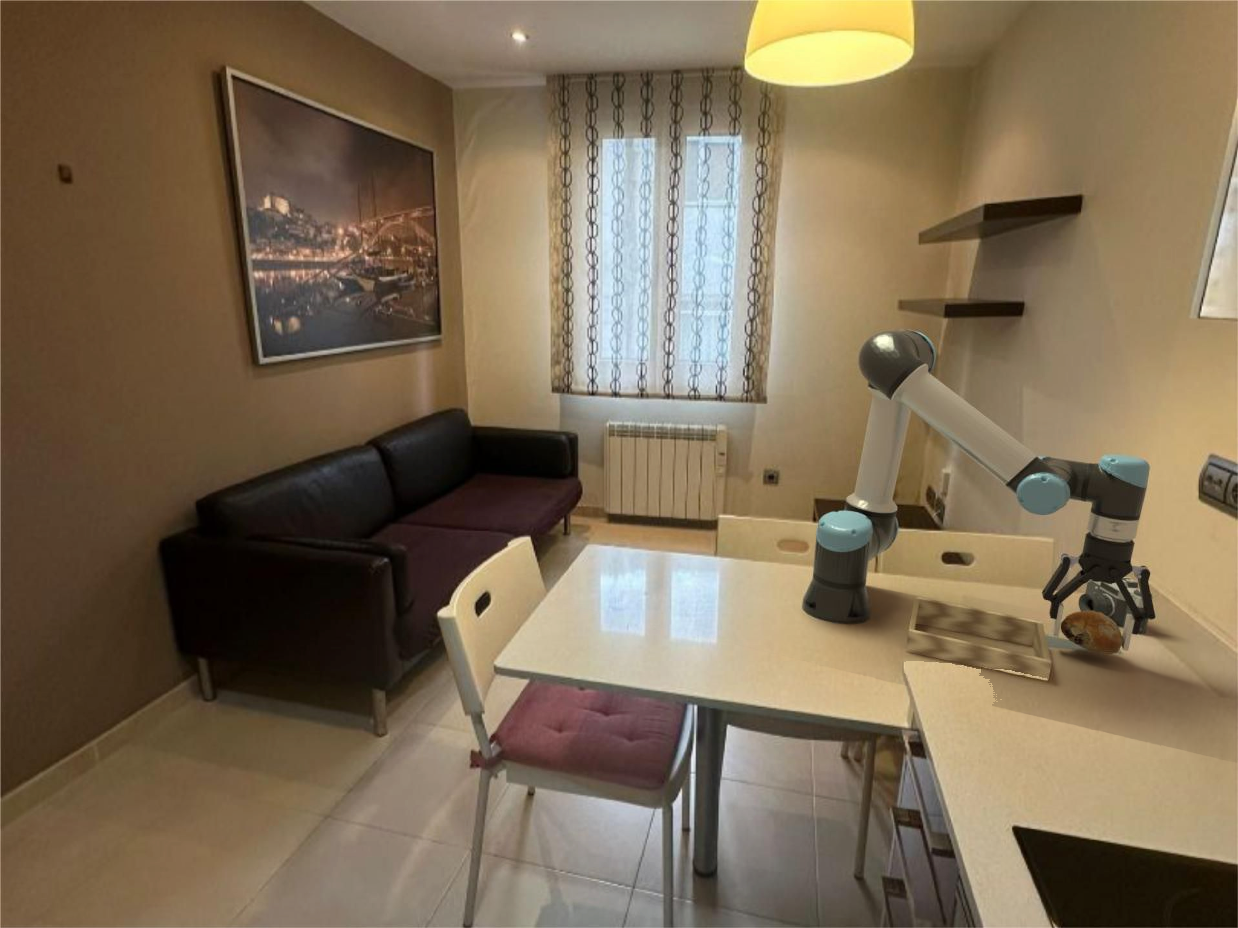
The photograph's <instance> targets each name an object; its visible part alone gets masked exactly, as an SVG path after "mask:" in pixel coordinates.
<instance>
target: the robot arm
mask: <svg viewBox="0 0 1238 928" xmlns="http://www.w3.org/2000/svg"><path fill="white" fill-rule="evenodd" d="M936 360H937V352H936V348H935V345H934V344H933V342H932V341H931V339H930V338H929V337H927V336H926V335H925V334H924V333H922V332H919V331H915V330H911V329H898V330H886V331H884V330H883V331H880V332H878V333H875V334H873V335H872V336H870V337H868V339H867V340H866V341H865V342H864V343H863V344H862V346H861V348H860V350H859V353H858V367H859V370H860V373H861V374H862V376H863V377H864V379H865V380H866V381H867V382H868V383H867V389H868V390H869V392H870V393H871V394H872V400H871V404H870V410H869V415H868V421H867V426H866V431H865V436H864V441H863V446H862V452H861V457H860V462H859V467H858V472H857V476H856V477H857V478H856V483H855V487H854V492H852V493H851V494H850V495H848V496H847V497H846V499H845V503H844V504H845V505H844V509H843V510H838V511H830V512H827V513H826V514H824V515H822V516H821V517H820V519H819V521H818V523H817V528H816V531H815V546H814V560H813V572H812V579H811V581H810V583H809V585H808V587H807V590H806V592H805V593H804V595H803V597H802V605H801V607H802V610H803V612H805V613H806V614H807V615H809V616H810V617H813V618H815V619H818V620H821V621H824V622H829V623H834V624H843V625H856V624H863V623H865V622H867V621H869V620H870V618H871V615H872V609H871V604H870V603H871V602H870V600H869V595H868V591H867V588H866V587H867V586H866V584H867V576H868V570H869V569H868V568H869V563H870V561H872V560H873V559H874V558H876V557H878V556H879V555H881V554H882V553H884V552H886V551H887V550H888V549H889V548H890V547H891V546H892V545H893V543H894V542H895V540H896V539H897V537H898V533H899V521H898V518H897V513H898V506H897V504H896V503H895V502H894V499H893V498H894V493H895V489H896V484H897V483H896V482H897V479H898V476H899V475H898V474H899V470H900V465H901V460H902V456H903V451H904V446H905V441H906V436H907V432H908V427H909V422H910V418H911V413H912V412H913V413H914V414H916V415H917V416H918V417H920V418H921V419H922V420H923V421H924V422H926V423H927V424H928V425H930V426H931V427H932V428H933V429H934V430H936V431H937V432H938V433H940V434H941V435H942V436H943V437H945V438H946V439H947V440H948V441H949V442H950V443H952V444H953V445H955V446H956V447H957V448H958V449H959V450H960V451H962V453H964V454H966V455H967V456H968V457H969V458H970V459H971V460H972V461H975V462H976V464H978V465H979V466H980V467H982V468H983V469H984V470H985V471H987V472H988V473H990V475H992V476H993V477H994V478H996V479H997V481H999V482H1001V483H1002V484H1003V485H1004V486H1005V487H1007V488H1008V489H1009V490H1010V491H1012V492H1013V493H1014V494H1015V495H1016V498H1017V502H1018V504H1019V505H1020V506H1021V507H1022V508H1023V509H1024V510H1025V511H1026V512H1028V513H1030V514H1033V515H1037V516H1047V515H1052V514H1054V513H1056V512H1057V511H1059V510H1061V509H1062V508H1064V507H1065V506H1066V505H1067V503H1068V501H1069V500H1074V501H1080V502H1088V503H1091V507H1090V512H1089V513H1090V514H1089V517H1088V521H1087V526H1086V530H1087V531H1088V532H1087V533H1086V534H1085V538H1084V543H1083V547H1082V551H1081V552H1082V553H1081V554H1080V555H1079V556H1071V555H1069V554H1067V553H1062V554H1061V557H1060V564H1059V565H1058V567H1057V568H1056V570H1055V571H1054V573H1053V574H1052V575H1051V577H1050V579H1049V581H1048V582H1047V584H1046V585H1045V586H1044V588H1043V589H1042V591H1041V595H1042V598H1043V600H1045V601H1047V602H1050V608H1049V612H1048V613H1049V617H1050V619H1053V625H1052V635H1053V637H1057V638H1059V634H1060V630H1061V623H1062V621H1063V620H1062V618H1063V614H1064V609H1065V606H1064V603H1063V602H1064V601H1066V599H1068V598H1069V597H1070V596H1071V595H1072V594H1074V593H1075V592H1076V591H1077V590H1078V589H1079V588H1081V587H1082V586H1083V585H1085V584H1087V582H1088V581H1089V580H1090V579H1091V580H1092V581H1095V582H1104V583H1107V584H1112V583H1116V584H1117V586H1118V588H1119V590H1120V591H1121V593H1122V595H1123V597H1124V599H1125V601H1126V602H1127V604H1128V606H1129V608H1130V610H1131V612H1132V613H1133V614H1132V615H1131V614H1127V616H1126V620H1125V625H1124V627H1123V630H1122V633H1121V635H1122V637H1123V639H1122V644H1121V648H1122V651H1127V652H1128V651H1129V648H1130V644H1131V640H1132V639H1131V638H1132V635H1135V636H1137V635H1138V634H1140V633H1139V629H1140V625H1141V622H1142V621H1143V620H1144V619H1148V620H1154V619H1155V618H1156V612H1155V609H1154V603H1153V599H1152V597H1151V594H1152V593H1151V589H1150V584H1149V581H1150V577H1151V571H1150V569H1149V568H1148V566H1146V565H1141V566H1138V565H1137V566H1136V565H1133V564H1132V558H1133V552H1134V548H1135V542H1134V540H1135V539H1136V537H1137V533H1138V529H1139V523H1140V519H1141V515H1142V510H1143V505H1144V502H1145V497H1146V493H1147V489H1148V481H1149V476H1150V470H1151V469H1150V468H1151V467H1150V464H1149V462H1148V461H1146V460H1145V459H1143V458H1140V457H1137V456H1132V455H1125V454H1113V453H1110V454H1105V455H1102V456H1101V457H1100V460H1099V461H1098V463H1096V462H1093V463H1091V462H1083V461H1076V460H1069V459H1063V458H1055V457H1051V456H1037V454H1035V453H1034V452H1032V451H1031V450H1030V449H1029V448H1027V447H1026V446H1025V445H1023V444H1022V443H1021V442H1020V441H1018V440H1017V439H1016V438H1015V437H1013V436H1012V435H1010V433H1008V432H1007V431H1006V430H1004V429H1002V428H1001V427H1000V426H999V425H998V424H996V423H995V422H993V421H992V420H991V419H990V418H988V417H987V416H986V415H984V414H983V413H982V412H980V411H979V410H978V409H976V407H974V406H972V405H971V404H970V403H969V402H967V401H966V400H965V399H963V398H962V397H961V396H960V395H958V394H957V393H956V392H954V391H953V390H952V389H950V388H949V387H948V386H946V385H945V384H944V383H943V382H942V381H940V380H939V379H938V378H936V377H935V376H934V375H932V374H931V372H932V370H933V368H934V366H935V364H936ZM1076 564H1078V565H1079V567H1080V568H1081V569H1080V570H1079V571H1078V572H1077V573H1076V574H1075V576H1074V577H1073V578H1071V579H1070V580H1069V581H1068V582H1067V583H1066V584H1064V585H1063V586H1062V587H1061V588H1059V590H1057V589H1058V587H1059V586H1060V585H1061V583H1062V581H1063V580H1064V578H1065V576H1066V575H1067V574H1068V571H1069V570H1070V568H1074V566H1075V565H1076ZM1131 573H1133V576H1134V577H1135V578H1136V579H1137V581H1138V589H1140V593H1141V598H1142V602H1143V607H1144V610H1139V609H1138V607H1137V606H1136V604H1135V602H1134V600H1133V598H1132V596H1131V595H1130V593H1129V591H1128V589H1127V587H1126V585H1125V584H1124V582H1123V580H1122V578H1124V577H1127V576H1128V575H1129V574H1131Z"/></svg>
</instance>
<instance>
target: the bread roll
mask: <svg viewBox="0 0 1238 928" xmlns="http://www.w3.org/2000/svg"><path fill="white" fill-rule="evenodd" d="M1060 630H1061V633H1062V634H1063V636H1065V638H1067V640H1070V641H1071V642H1073V643H1075V644H1077V645H1079V646H1081V647H1083V648H1085V649H1088V650H1091V651H1090V652H1093V653H1097V654H1105V655H1114V653H1117V652H1118V651H1119V650H1120V649H1121V648H1122V646H1121V644H1122V639H1123V637H1122V632H1121V629H1120V628H1119V626H1118V624H1117V623H1116V622H1114V621H1113V620H1112V619H1110V618H1109V617H1107V616H1106V615H1104V614H1102V613H1101V612H1095V611H1081V610H1080V611H1076V612H1073V613H1070V614H1068V615H1066V616H1065V618H1064V619H1063V620H1061V625H1060ZM1120 651H1121V650H1120Z"/></svg>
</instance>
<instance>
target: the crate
mask: <svg viewBox="0 0 1238 928" xmlns="http://www.w3.org/2000/svg"><path fill="white" fill-rule="evenodd" d="M913 599H914V600H913V604H912V605H913V606H912V610H911V616H910V622H909V626H908V631H907V632H908V633H907V637H906V646H905V647H906V648H905V652H907V653H911V654H915V655H922V656H926V657H930V658H935V659H939V660H944V661H949V662H954V663H958V664H964V665H968V666H971V667H977V668H981V667H987V668H990V669H1004V670H1012V671H1015V672H1021V673H1024V674H1030V675H1032V676H1039V677H1042V678H1047V679H1048V680H1049V678H1050V673H1051V668H1052V663H1053V662H1052V658H1051V655H1050V650H1049V647H1048V645H1047V641H1046V636H1045V635H1046V632H1045V628H1044V624H1043V621H1041V620H1036V619H1030V618H1024V617H1021V616H1020V617H1019V616H1015V615H1011V614H1007V613H1006V614H1005V613H1002V612H995V611H991V610H986V609H980V608H976V607H971V606H966V605H960V604H956V603H951V602H946V601H940V600H936V599H935V600H934V599H932V598H931V599H930V598H925V597H922V596H921V597H920V596H917V595H916V596H914V598H913ZM917 625H920V626H921V625H923V626H927V627H932V628H937V629H942V630H948V631H953V632H958V633H964V634H969V635H974V636H979V637H984V638H989V639H994V640H997V641H998V640H1000V641H1004V642H1009V643H1015V644H1020V645H1024V646H1029V647H1032V649H1033V654H1034V655H1030V654H1029V655H1028V654H1024V653H1021V652H1015V651H1010V650H1007V649H1004V648H1003V649H1002V648H997V647H993V646H988V645H986V644H985V645H984V644H981V643H975V642H970V641H966V640H961V639H956V638H953V637H948V636H944V635H943V636H942V635H939V634H934V633H930V632H925V631H921V630H916V628H917ZM990 669H989V670H990Z"/></svg>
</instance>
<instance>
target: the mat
mask: <svg viewBox="0 0 1238 928" xmlns="http://www.w3.org/2000/svg"><path fill="white" fill-rule="evenodd" d="M1045 636H1046V641H1047V645H1048V648H1053V649H1054V648H1055V649H1064V650H1073V651H1074V650H1075V651H1085V652H1092V651H1091V650H1088V649H1085V648H1083V647H1081V646H1079V645H1077V644H1075V643H1073V642H1071V641H1070V640H1069V639H1068V638H1067V639H1065V638H1061V637H1057V636H1051V635H1047V634H1045ZM1114 654H1117V655H1123V652H1122V651H1121V650H1119V651H1118V652H1117V653H1114ZM1114 654H1113V655H1114Z"/></svg>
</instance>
